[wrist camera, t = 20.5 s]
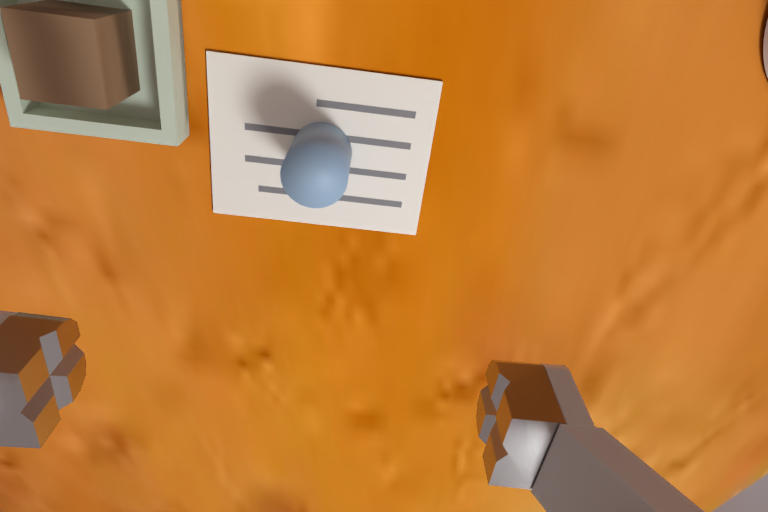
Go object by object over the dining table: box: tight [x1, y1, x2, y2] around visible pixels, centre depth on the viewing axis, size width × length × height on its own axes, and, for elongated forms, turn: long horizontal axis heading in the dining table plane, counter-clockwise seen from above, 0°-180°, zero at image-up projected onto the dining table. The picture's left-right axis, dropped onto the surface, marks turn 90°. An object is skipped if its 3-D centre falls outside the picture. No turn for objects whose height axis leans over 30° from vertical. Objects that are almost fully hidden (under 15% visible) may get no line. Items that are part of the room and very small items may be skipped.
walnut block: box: [0, 0, 140, 110], centre depth 32 cm, size 5×5×5 cm
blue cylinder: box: [280, 122, 352, 208], centre depth 36 cm, size 4×4×5 cm
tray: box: [0, 0, 190, 146], centre depth 34 cm, size 11×11×2 cm
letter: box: [206, 51, 443, 235], centre depth 38 cm, size 16×12×1 cm
